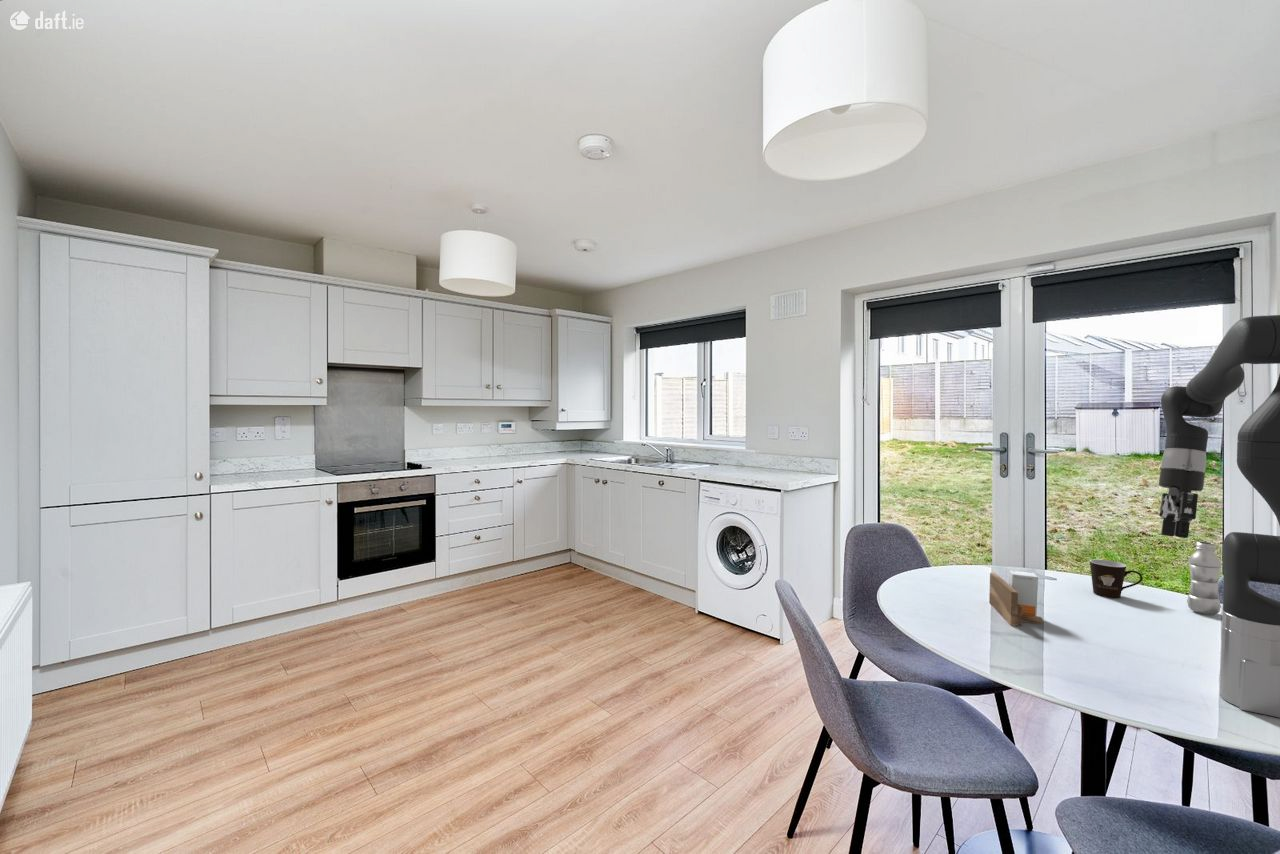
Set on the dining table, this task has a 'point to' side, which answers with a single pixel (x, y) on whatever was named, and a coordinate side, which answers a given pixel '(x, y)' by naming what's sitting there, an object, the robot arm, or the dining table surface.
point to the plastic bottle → (1204, 579)
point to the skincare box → (1025, 590)
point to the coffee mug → (1109, 578)
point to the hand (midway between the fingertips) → (1173, 536)
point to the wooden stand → (1008, 602)
